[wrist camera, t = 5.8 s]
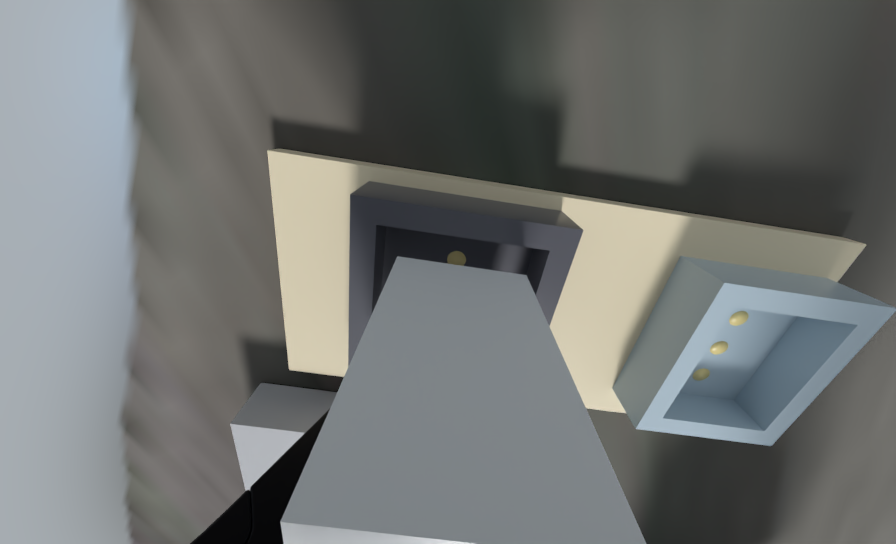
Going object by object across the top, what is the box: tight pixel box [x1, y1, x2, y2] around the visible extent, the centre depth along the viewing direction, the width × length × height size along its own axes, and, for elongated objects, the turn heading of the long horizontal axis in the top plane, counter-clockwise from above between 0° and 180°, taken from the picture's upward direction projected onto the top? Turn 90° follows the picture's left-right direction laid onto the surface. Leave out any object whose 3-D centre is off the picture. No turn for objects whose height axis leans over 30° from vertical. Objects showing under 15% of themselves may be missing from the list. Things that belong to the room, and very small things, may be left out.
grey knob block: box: [230, 383, 337, 490], centre depth 17 cm, size 8×8×3 cm
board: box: [267, 148, 867, 413], centre depth 14 cm, size 22×10×1 cm, turn 82°
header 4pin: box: [348, 181, 583, 367], centre depth 12 cm, size 7×9×2 cm
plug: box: [280, 256, 646, 544], centre depth 8 cm, size 4×7×7 cm, turn 172°
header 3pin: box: [612, 256, 896, 446], centre depth 13 cm, size 6×7×2 cm
